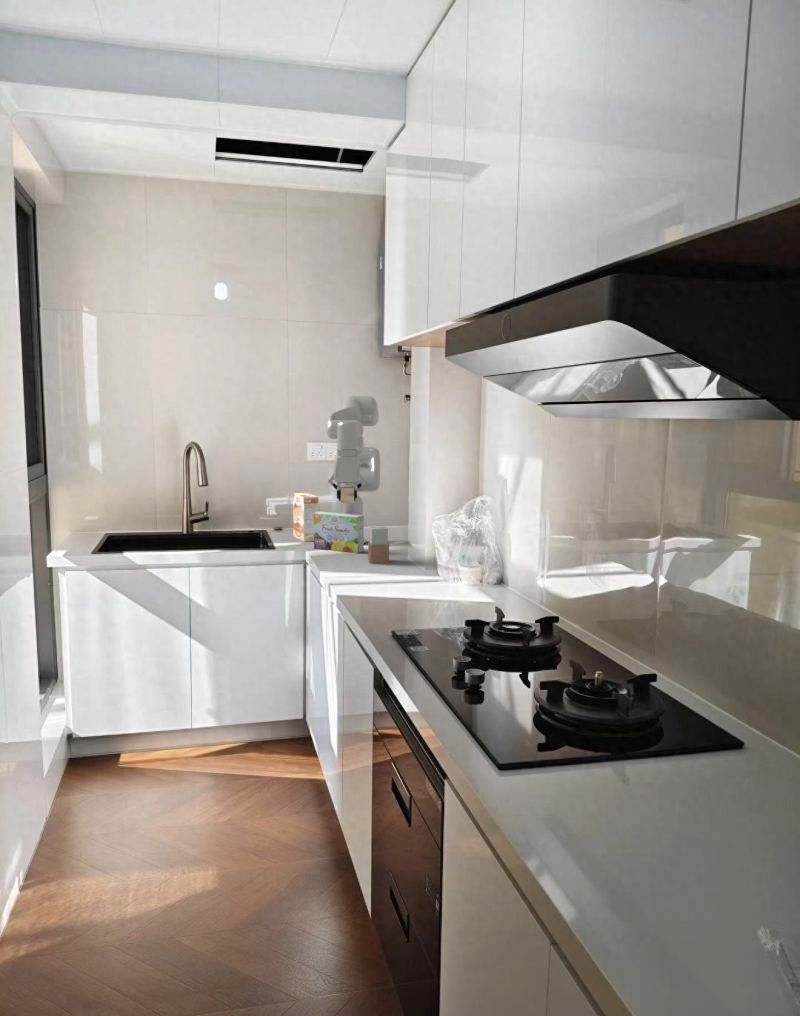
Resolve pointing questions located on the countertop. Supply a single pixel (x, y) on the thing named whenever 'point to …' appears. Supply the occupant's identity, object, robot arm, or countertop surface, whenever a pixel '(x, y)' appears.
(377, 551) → the walnut base block
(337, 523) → the snack box
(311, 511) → the coffeecake box
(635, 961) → the countertop surface
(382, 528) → the sage top block
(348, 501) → the ash block
